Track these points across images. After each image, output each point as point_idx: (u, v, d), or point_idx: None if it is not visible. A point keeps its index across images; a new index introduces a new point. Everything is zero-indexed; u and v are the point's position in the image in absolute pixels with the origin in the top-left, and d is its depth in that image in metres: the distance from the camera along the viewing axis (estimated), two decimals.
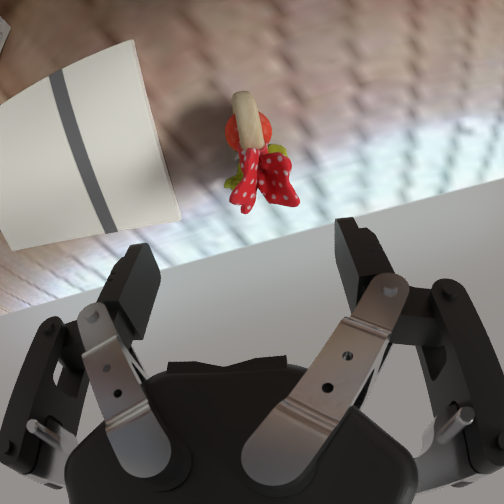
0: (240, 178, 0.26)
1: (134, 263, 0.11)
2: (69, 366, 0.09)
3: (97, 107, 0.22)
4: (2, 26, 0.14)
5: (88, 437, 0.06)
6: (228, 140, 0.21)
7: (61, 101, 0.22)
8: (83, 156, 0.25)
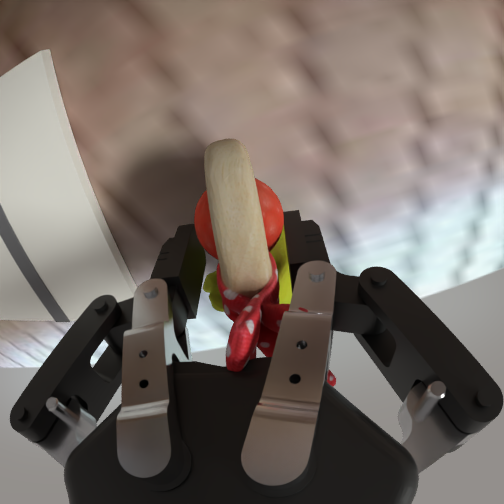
0: None
1: (187, 242, 0.12)
2: (114, 347, 0.10)
3: (10, 162, 0.13)
4: None
5: (88, 437, 0.06)
6: (200, 241, 0.11)
7: None
8: (7, 229, 0.16)
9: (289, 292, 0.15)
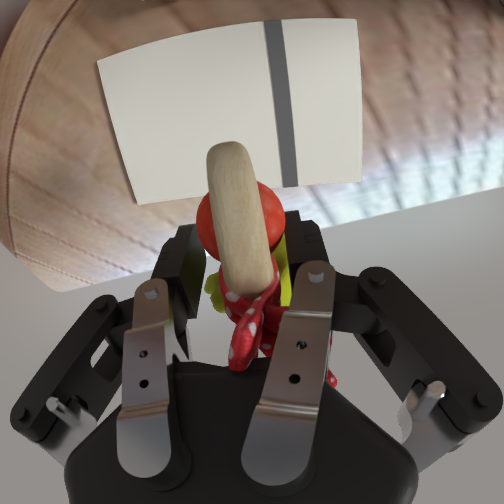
0: None
1: (188, 241, 0.12)
2: (114, 347, 0.10)
3: (314, 65, 0.25)
4: None
5: (88, 438, 0.06)
6: (202, 244, 0.11)
7: (275, 49, 0.24)
8: (286, 107, 0.28)
9: (290, 293, 0.15)
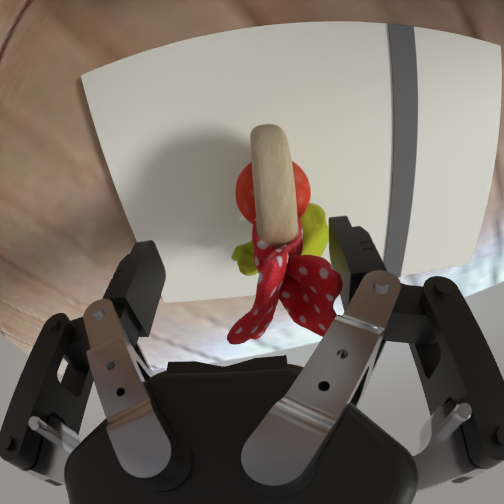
0: None
1: (140, 260, 0.12)
2: (74, 363, 0.09)
3: (451, 108, 0.14)
4: None
5: (88, 437, 0.06)
6: (239, 206, 0.13)
7: (403, 75, 0.13)
8: (409, 170, 0.17)
9: None
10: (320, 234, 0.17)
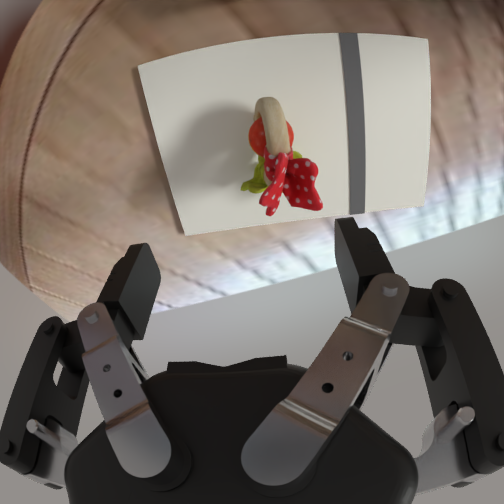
0: (257, 182, 0.27)
1: (134, 263, 0.11)
2: (69, 366, 0.09)
3: (388, 86, 0.23)
4: None
5: (87, 437, 0.06)
6: (252, 144, 0.22)
7: (350, 65, 0.22)
8: (360, 129, 0.25)
9: None
10: None
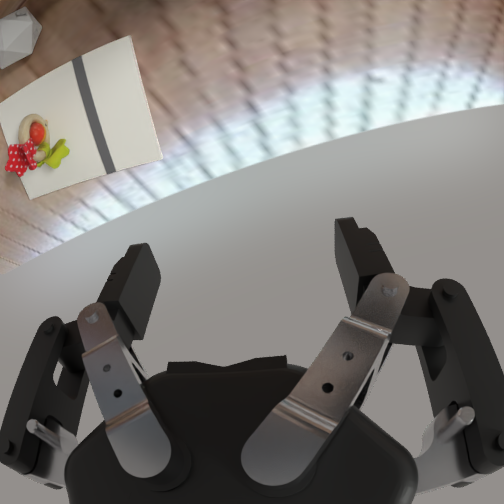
0: None
1: (134, 263, 0.11)
2: (69, 366, 0.09)
3: (105, 80, 0.32)
4: (37, 25, 0.24)
5: (88, 437, 0.06)
6: None
7: (80, 77, 0.31)
8: (94, 115, 0.35)
9: (54, 161, 0.35)
10: (60, 148, 0.35)
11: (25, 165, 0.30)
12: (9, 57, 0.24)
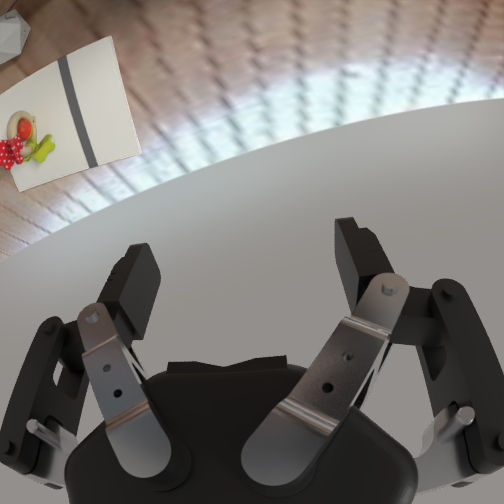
0: None
1: (134, 263, 0.11)
2: (69, 366, 0.09)
3: (88, 79, 0.32)
4: (26, 26, 0.24)
5: (88, 437, 0.06)
6: None
7: (65, 76, 0.32)
8: (77, 112, 0.35)
9: (40, 155, 0.36)
10: (46, 143, 0.36)
11: (12, 159, 0.31)
12: None
